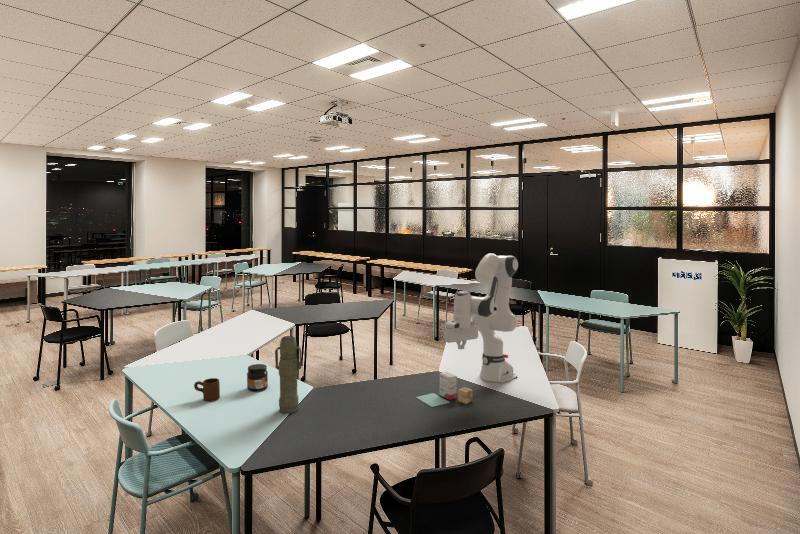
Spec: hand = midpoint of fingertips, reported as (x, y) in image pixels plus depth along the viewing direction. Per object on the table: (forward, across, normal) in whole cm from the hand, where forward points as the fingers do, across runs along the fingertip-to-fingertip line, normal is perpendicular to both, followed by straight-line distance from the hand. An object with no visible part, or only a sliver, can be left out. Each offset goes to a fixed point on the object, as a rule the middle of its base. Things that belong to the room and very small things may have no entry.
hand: (461, 349), depth 236 cm
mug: (+25, +114, -57) cm, 130 cm away
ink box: (+24, +8, 0) cm, 25 cm away
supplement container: (+24, +89, -59) cm, 109 cm away
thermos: (+24, +84, -24) cm, 90 cm away
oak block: (+24, +4, +9) cm, 26 cm away
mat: (+24, +17, 0) cm, 30 cm away
